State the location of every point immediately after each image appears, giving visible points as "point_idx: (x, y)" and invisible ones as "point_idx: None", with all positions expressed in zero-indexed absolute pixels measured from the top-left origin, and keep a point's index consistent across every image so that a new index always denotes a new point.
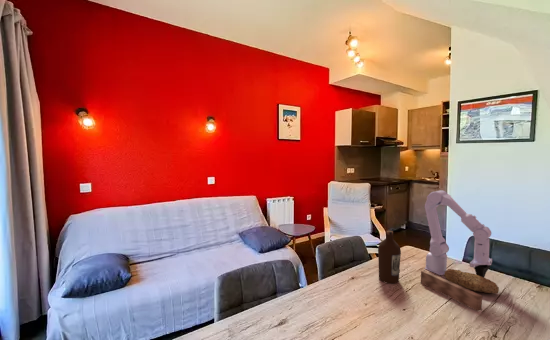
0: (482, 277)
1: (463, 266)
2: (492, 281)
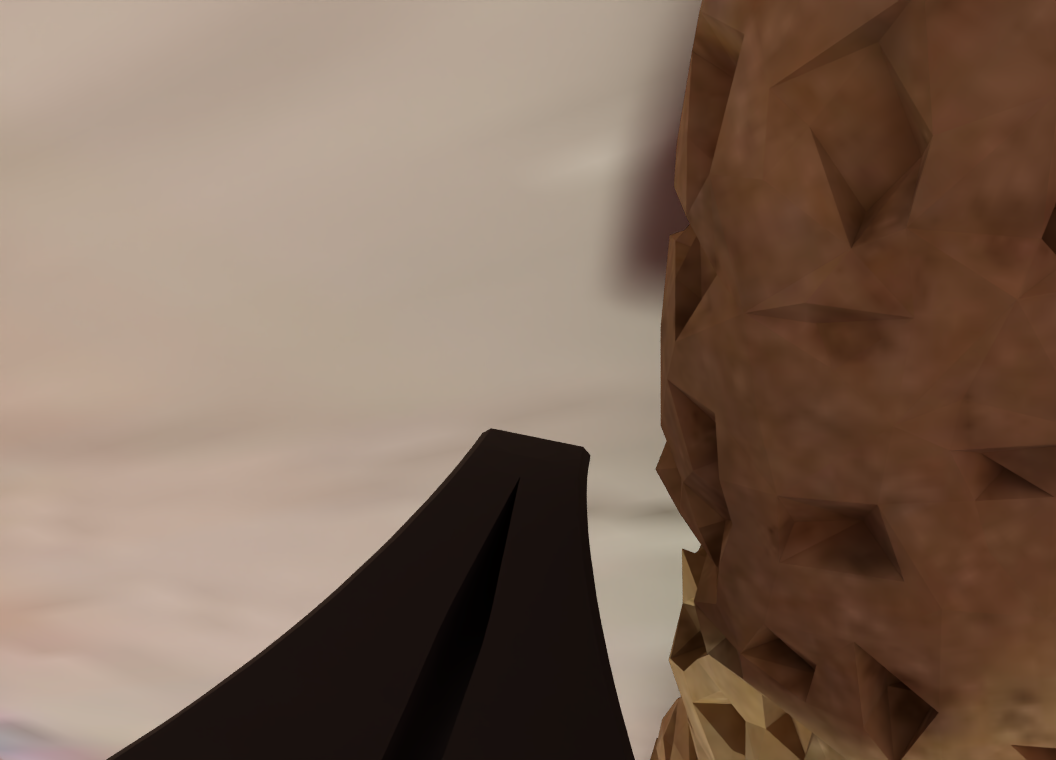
0: (978, 583)
1: (69, 695)
2: (941, 54)
